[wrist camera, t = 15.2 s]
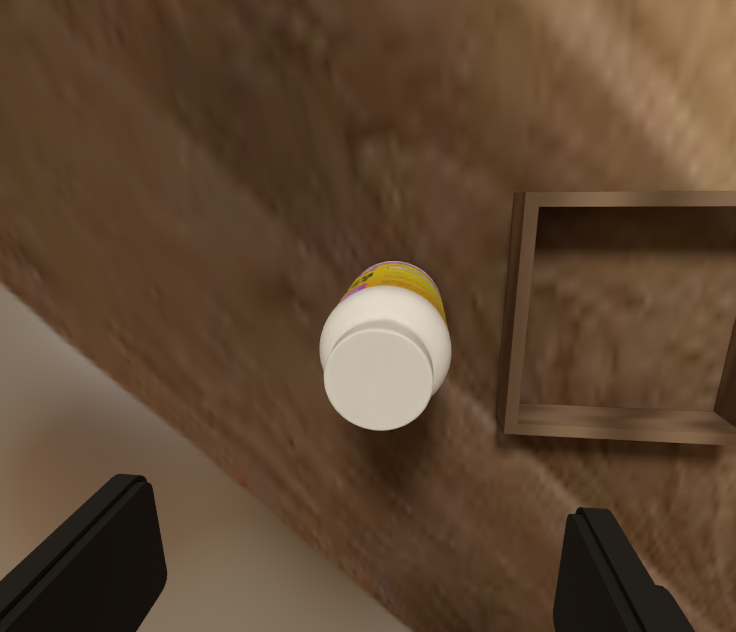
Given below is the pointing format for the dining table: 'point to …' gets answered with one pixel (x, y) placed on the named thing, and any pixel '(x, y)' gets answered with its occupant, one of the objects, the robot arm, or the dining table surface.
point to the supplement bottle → (385, 347)
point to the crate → (722, 427)
